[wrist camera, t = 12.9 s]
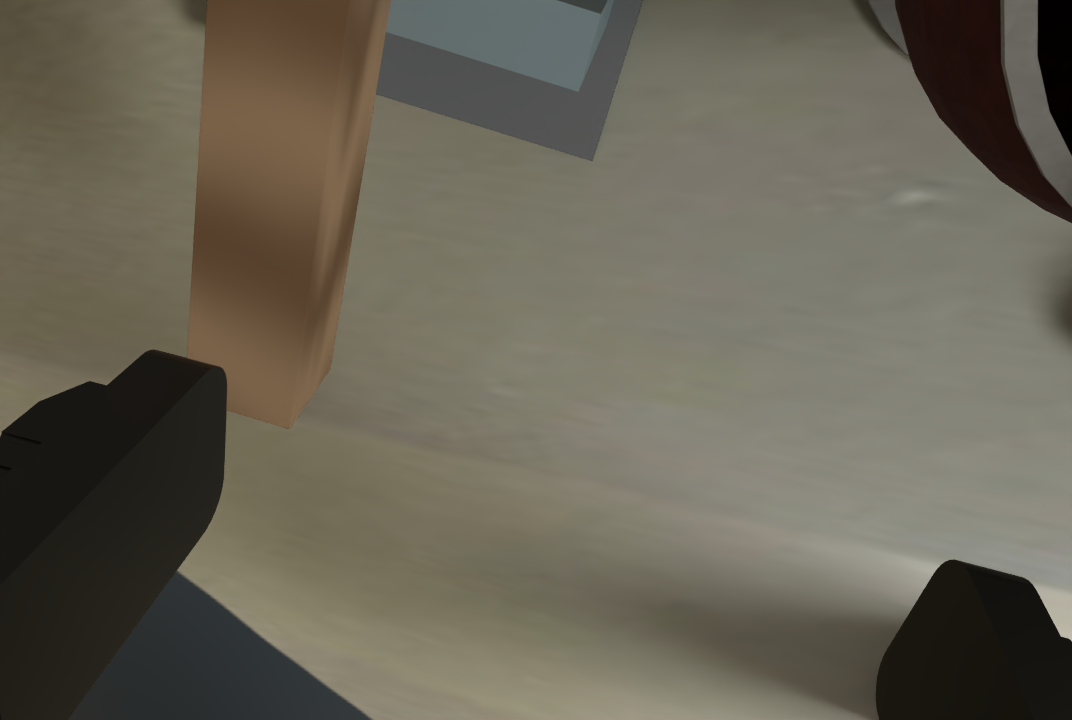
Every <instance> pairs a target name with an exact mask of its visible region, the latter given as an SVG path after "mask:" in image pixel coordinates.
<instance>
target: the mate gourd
mask: <svg viewBox="0 0 1072 720" xmlns="http://www.w3.org/2000/svg"><path fill="white" fill-rule="evenodd" d="M866 1H867V3H868V5H869V6H870V8H871V10H872V12H873V14H874V15H875V17H876V19H877V21H878V23H879V24H880V26H881V28H882V29H883V30H884V31H885V32H886V33H887V34H888V35H889V37H890V38H891V39H892V40H893V41H894V42H895V43H896V44H897V45H898V46H899V48H900V49H901V50H902V51H903V52H905V53H906V54H907V55H909V57H910V60H911V63H912V66H913V69H914V72H915V74H916V76H917V78H918V80H919V82H920V83H921V85H922V87H923V89H924V91H925V93H926V94H927V96H928V98H929V100H930V102H931V103H932V105H933V107H934V109H935V111H936V112H937V114H938V116H939V118H940V119H941V120H942V121H943V122H944V123H945V124H946V125H947V126H948V127H949V128H950V130H951V131H952V132H953V133H954V134H955V135H956V136H957V137H958V138H959V139H960V140H961V142H962V143H963V144H964V145H965V146H966V147H967V148H968V149H969V150H970V151H971V152H972V153H973V154H974V155H975V156H976V157H977V158H978V159H979V160H980V161H981V162H982V163H983V164H984V165H985V166H986V167H987V168H988V169H989V170H990V171H991V172H992V173H993V174H994V175H995V176H996V177H997V178H998V179H999V180H1000V181H1002V182H1003V183H1005V184H1006V185H1008V186H1009V187H1011V188H1012V189H1014V190H1015V191H1017V192H1018V193H1020V194H1021V195H1023V196H1024V197H1026V198H1027V199H1029V200H1030V201H1032V202H1033V203H1035V204H1036V205H1038V206H1039V207H1041V208H1042V209H1044V210H1046V211H1048V212H1050V213H1052V214H1054V215H1056V216H1058V217H1060V218H1062V219H1065V220H1067V221H1069V222H1071V223H1072V0H866Z"/></svg>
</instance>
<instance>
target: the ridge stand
mask: <svg viewBox="0 0 1072 720" xmlns="http://www.w3.org/2000/svg"><path fill="white" fill-rule="evenodd" d="M642 1H643V0H391V4H390V10H389V16H388V22H387V28H386V34H385V41H384V47H383V53H382V59H381V65H380V71H379V77H378V83H377V89H376V94H377V95H380V96H384V97H387V98H390V99H393V100H397V101H400V102H403V103H406V104H409V105H413V106H416V107H419V108H422V109H426V110H429V111H432V112H435V113H438V114H442V115H445V116H448V117H451V118H455V119H458V120H461V121H464V122H467V123H471V124H474V125H477V126H480V127H484V128H487V129H490V130H493V131H497V132H500V133H503V134H506V135H509V136H513V137H516V138H519V139H522V140H526V141H529V142H532V143H535V144H538V145H542V146H545V147H548V148H551V149H555V150H558V151H561V152H564V153H567V154H571V155H574V156H577V157H580V158H584V159H587V160H590V161H593V158H594V155H595V151H596V148H597V145H598V142H599V139H600V135H601V132H602V129H603V126H604V123H605V119H606V116H607V113H608V110H609V106H610V103H611V100H612V97H613V94H614V90H615V87H616V84H617V81H618V78H619V74H620V71H621V68H622V65H623V62H624V58H625V55H626V52H627V49H628V46H629V42H630V39H631V36H632V33H633V30H634V26H635V23H636V20H637V17H638V14H639V10H640V7H641V4H642Z"/></svg>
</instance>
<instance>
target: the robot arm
mask: <svg viewBox="0 0 1072 720" xmlns="http://www.w3.org/2000/svg"><path fill="white" fill-rule="evenodd" d="M226 407H227V377H226V374H225V371H224V370H223V368H221V367H219V366H216V365H212V364H208V363H204V362H200V361H196V360H192V359H189V358H185V357H181V356H177V355H173V354H169V353H166V352H162V351H158V350H150V351H147V352H145V353H144V354H143V355H141V356H140V357H139V358H138V359H137V360H136V361H134V362H133V363H132V364H131V365H130V366H129V367H128V368H126V369H125V370H124V371H123V372H122V373H121V374H120V375H118V376H117V377H116V378H115V379H114V380H113V381H112V382H110V383H109V384H108V385H107V386H106V385H103V384H99V383H95V382H91V381H89V382H86V383H84V384H81V385H79V386H76V387H74V388H71V389H69V390H66V391H64V392H62V393H59V394H57V395H54V396H52V397H49V398H47V399H44V400H42V401H39V402H38V403H37V404H36V405H34V406H33V407H32V408H31V409H29V410H28V411H27V412H26V413H24V414H23V415H22V416H21V417H19V418H18V419H17V420H16V421H14V422H13V423H12V424H11V425H9V426H8V427H7V428H6V429H5V430H3V431H2V434H1V437H0V720H68V719H69V717H70V716H71V715H72V713H73V712H74V711H75V709H76V708H77V707H78V705H79V704H80V703H81V701H82V700H83V698H84V697H85V696H86V694H87V693H88V692H89V690H90V689H91V687H92V686H93V684H94V683H95V682H96V681H97V679H98V678H99V676H100V675H101V674H102V672H103V671H104V669H105V668H106V667H107V666H108V664H109V663H110V661H111V660H112V659H113V657H114V656H115V654H116V653H117V652H118V650H119V649H120V648H121V646H122V645H123V643H124V642H125V641H126V639H127V638H128V637H129V635H130V634H131V633H132V631H133V630H134V628H135V627H136V626H137V624H138V623H139V622H140V620H141V619H142V617H143V616H144V615H145V613H146V612H147V610H148V609H149V608H150V606H151V605H152V604H153V602H154V601H155V600H156V598H157V597H158V595H159V594H160V593H161V591H162V590H163V589H164V587H165V586H166V584H167V583H168V582H169V580H170V579H171V578H172V576H173V575H174V573H175V572H176V571H177V569H178V568H179V567H180V565H181V564H182V563H183V561H184V560H185V558H186V557H187V556H188V554H189V553H190V552H191V550H192V549H193V547H194V546H195V545H196V543H197V542H198V541H199V539H200V538H201V536H202V535H203V534H204V532H205V531H206V529H207V527H208V525H209V524H210V522H211V520H212V518H213V515H214V513H215V510H216V508H217V505H218V502H219V499H220V495H221V491H222V487H223V480H224V461H225V434H226ZM876 705H877V712H878V716H879V720H1072V641H1071V640H1070V639H1068V638H1064V637H1061V636H1060V634H1059V632H1058V630H1057V628H1056V627H1055V625H1054V623H1053V621H1052V619H1051V617H1050V615H1049V613H1048V611H1047V609H1046V608H1045V606H1044V604H1043V602H1042V600H1041V598H1040V596H1039V594H1038V592H1037V591H1036V589H1035V587H1034V586H1033V585H1032V584H1031V583H1030V582H1029V581H1028V580H1027V579H1025V578H1023V577H1019V576H1015V575H1012V574H1008V573H1004V572H1000V571H996V570H992V569H989V568H985V567H981V566H977V565H973V564H969V563H965V562H962V561H958V560H949V561H946V562H944V563H943V564H942V565H940V567H939V568H938V569H937V570H936V571H935V573H934V574H933V576H932V577H931V579H930V581H929V582H928V584H927V585H926V587H925V589H924V590H923V592H922V594H921V595H920V597H919V598H918V600H917V602H916V603H915V605H914V607H913V608H912V610H911V611H910V613H909V615H908V616H907V618H906V620H905V621H904V623H903V625H902V626H901V628H900V629H899V631H898V633H897V634H896V636H895V638H894V639H893V641H892V642H891V644H890V646H889V647H888V649H887V651H886V652H885V654H884V656H883V659H882V661H881V664H880V668H879V672H878V676H877V684H876Z"/></svg>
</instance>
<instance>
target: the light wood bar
mask: <svg viewBox="0 0 1072 720" xmlns="http://www.w3.org/2000/svg"><path fill="white" fill-rule="evenodd" d="M390 4H391V0H207V12H206V30H205V48H204V65H203V83H202V101H201V119H200V137H199V154H198V172H197V190H196V208H195V226H194V244H193V261H192V279H191V297H190V315H189V333H188V351H187V358H189V359H192V360H196V361H200V362H204V363H208V364H212V365H216V366H219V367H221V368H223V370H224V371H225V374H226V377H227V407H226V410H228V411H231V412H235V413H238V414H241V415H244V416H248V417H251V418H254V419H258V420H261V421H264V422H267V423H271V424H274V425H277V426H281V427H284V428H287V429H290V427H291V426H292V425H293V423H294V422H295V420H296V419H297V417H298V416H299V414H300V413H301V411H302V410H303V408H304V407H305V405H306V404H307V403H308V401H309V400H310V398H311V397H312V395H313V394H314V392H315V391H316V389H317V388H318V386H319V385H320V383H321V382H322V381H323V379H324V378H325V376H326V375H327V373H328V372H329V370H330V369H331V363H332V357H333V351H334V345H335V338H336V332H337V326H338V320H339V314H340V308H341V302H342V296H343V290H344V284H345V278H346V272H347V265H348V259H349V253H350V247H351V241H352V235H353V229H354V223H355V217H356V211H357V205H358V199H359V193H360V186H361V180H362V174H363V168H364V162H365V156H366V150H367V144H368V138H369V132H370V126H371V120H372V114H373V107H374V101H375V95H376V89H377V83H378V77H379V71H380V65H381V59H382V53H383V47H384V41H385V34H386V28H387V22H388V16H389V10H390Z"/></svg>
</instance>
